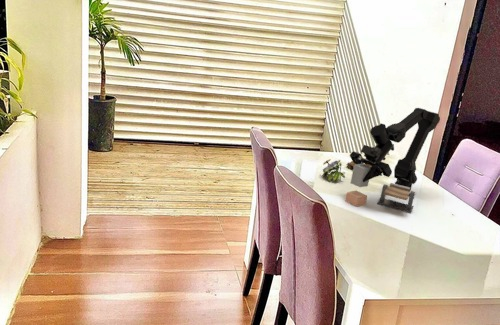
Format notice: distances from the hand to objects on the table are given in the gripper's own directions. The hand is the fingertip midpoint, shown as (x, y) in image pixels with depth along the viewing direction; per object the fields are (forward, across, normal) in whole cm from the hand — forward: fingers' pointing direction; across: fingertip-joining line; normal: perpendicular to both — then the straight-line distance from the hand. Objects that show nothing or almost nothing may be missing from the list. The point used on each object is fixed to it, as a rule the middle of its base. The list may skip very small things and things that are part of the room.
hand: (358, 178), depth 190 cm
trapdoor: (-6, +11, +12) cm, 17 cm away
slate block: (+1, 0, +3) cm, 3 cm away
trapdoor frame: (-3, +10, +19) cm, 21 cm away
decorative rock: (-21, -30, +38) cm, 53 cm away
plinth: (+7, 0, +8) cm, 11 cm away
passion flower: (-3, -26, +18) cm, 32 cm away
